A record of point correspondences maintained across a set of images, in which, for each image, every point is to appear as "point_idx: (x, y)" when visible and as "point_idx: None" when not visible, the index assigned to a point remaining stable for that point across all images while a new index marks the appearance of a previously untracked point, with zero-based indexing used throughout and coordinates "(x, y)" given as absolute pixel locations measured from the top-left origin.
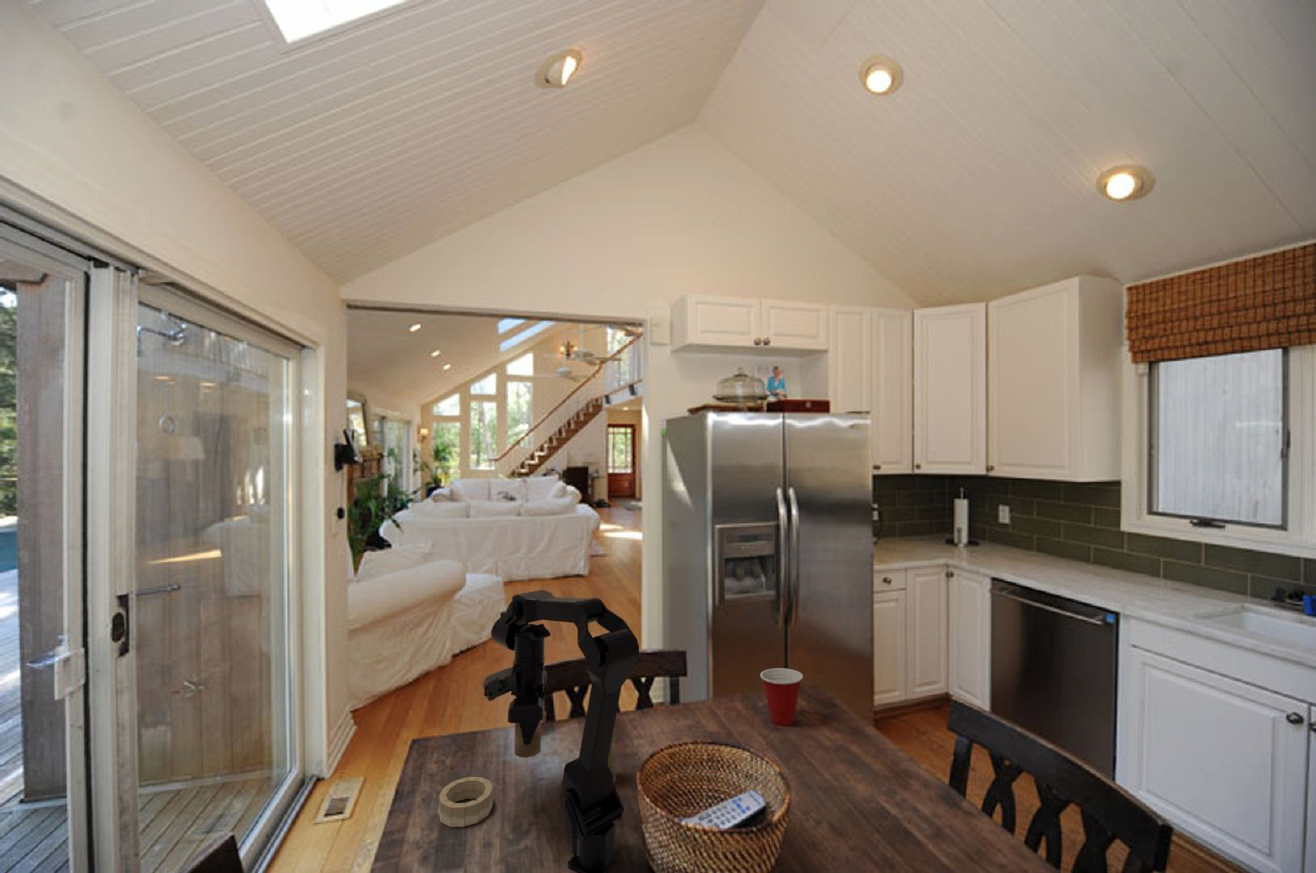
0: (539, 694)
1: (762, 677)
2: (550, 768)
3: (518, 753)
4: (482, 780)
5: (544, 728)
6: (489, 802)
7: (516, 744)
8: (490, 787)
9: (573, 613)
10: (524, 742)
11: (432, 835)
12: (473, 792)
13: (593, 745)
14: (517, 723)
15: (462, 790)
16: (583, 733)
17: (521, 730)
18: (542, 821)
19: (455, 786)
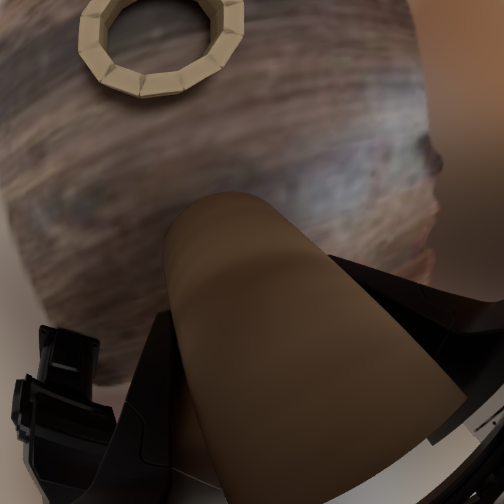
0: (441, 433)
1: None
2: (328, 197)
3: (168, 240)
4: (223, 47)
5: (437, 157)
6: (145, 96)
7: (185, 244)
8: (183, 83)
9: None
10: (154, 326)
11: (64, 10)
12: (214, 31)
13: None
14: (217, 361)
15: (209, 3)
16: None
17: (128, 400)
18: (130, 243)
19: None
